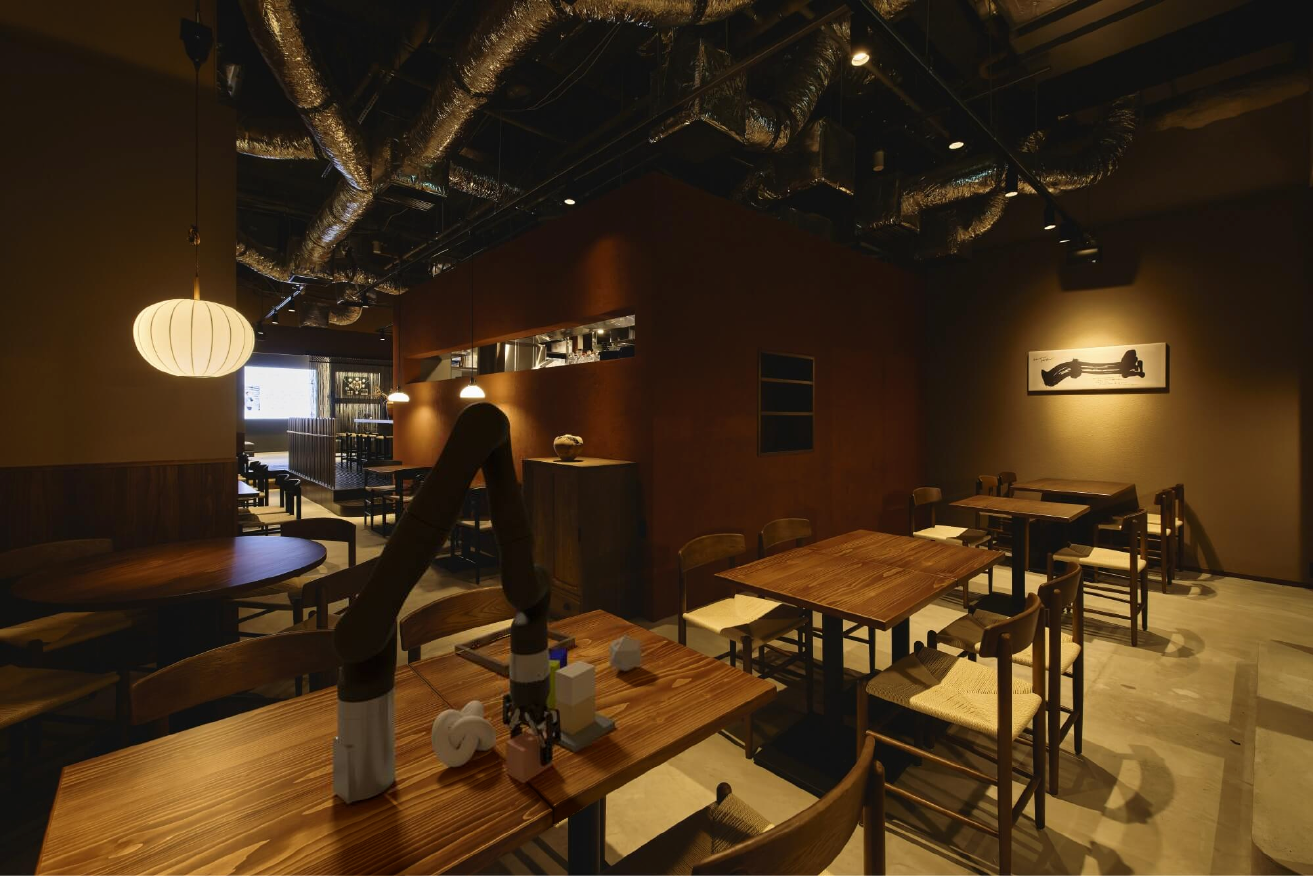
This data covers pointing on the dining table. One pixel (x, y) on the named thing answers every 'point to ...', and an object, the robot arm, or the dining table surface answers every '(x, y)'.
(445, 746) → the white knot
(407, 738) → the dining table surface
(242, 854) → the dining table surface
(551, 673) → the puzzle toy
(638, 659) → the die
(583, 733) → the baseplate
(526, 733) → the brick terracotta
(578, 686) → the brick white
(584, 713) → the brick mustard
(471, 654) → the tray frame
